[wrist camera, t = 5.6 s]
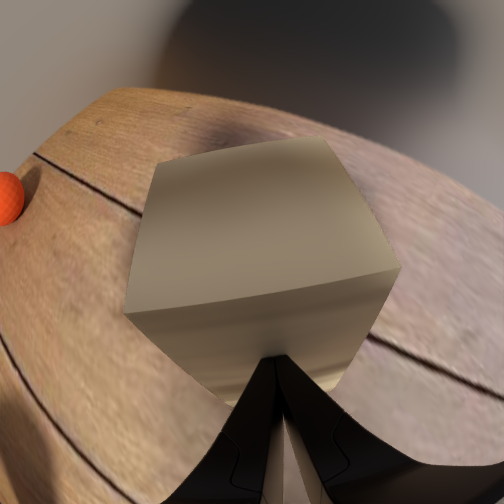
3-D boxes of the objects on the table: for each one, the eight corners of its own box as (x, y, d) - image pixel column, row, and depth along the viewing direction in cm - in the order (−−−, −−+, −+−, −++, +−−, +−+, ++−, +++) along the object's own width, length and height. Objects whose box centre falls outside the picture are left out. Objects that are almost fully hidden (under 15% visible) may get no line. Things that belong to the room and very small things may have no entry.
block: (332, 390, 14) (401, 267, 5) (230, 406, 15) (122, 313, 5) (312, 304, 18) (321, 135, 9) (223, 319, 18) (157, 163, 9)
